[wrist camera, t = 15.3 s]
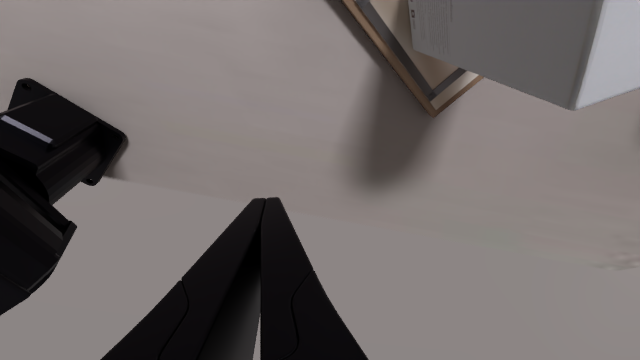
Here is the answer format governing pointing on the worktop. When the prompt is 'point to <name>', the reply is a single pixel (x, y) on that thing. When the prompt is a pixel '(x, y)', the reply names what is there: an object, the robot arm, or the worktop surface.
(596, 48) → the skincare box
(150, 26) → the worktop surface
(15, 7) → the worktop surface
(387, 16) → the square tray
